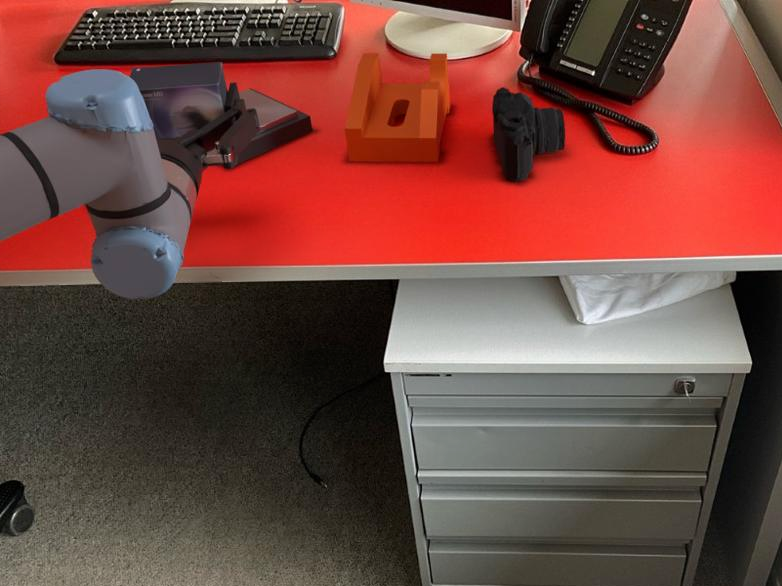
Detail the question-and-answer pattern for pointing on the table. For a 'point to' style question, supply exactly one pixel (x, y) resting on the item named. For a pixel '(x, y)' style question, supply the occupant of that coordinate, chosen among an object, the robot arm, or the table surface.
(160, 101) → the small box
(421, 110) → the orange slotted bracket
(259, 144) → the scale
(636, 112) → the table surface
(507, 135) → the film camera
